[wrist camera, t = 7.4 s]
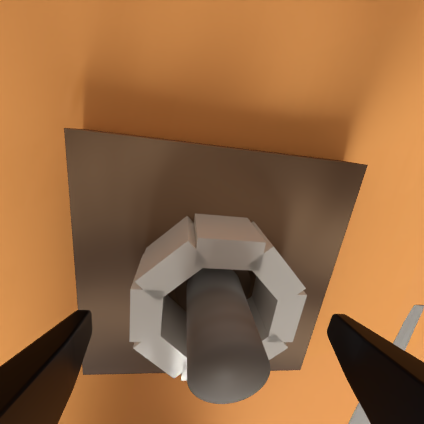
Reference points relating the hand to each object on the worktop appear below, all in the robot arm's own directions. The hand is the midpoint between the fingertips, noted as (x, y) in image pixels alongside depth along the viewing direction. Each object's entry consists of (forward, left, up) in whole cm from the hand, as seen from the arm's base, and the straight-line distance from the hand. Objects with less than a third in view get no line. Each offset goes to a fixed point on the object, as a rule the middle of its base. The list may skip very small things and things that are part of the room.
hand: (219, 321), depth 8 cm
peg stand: (0, 0, -4) cm, 4 cm away
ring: (0, 0, -2) cm, 2 cm away
